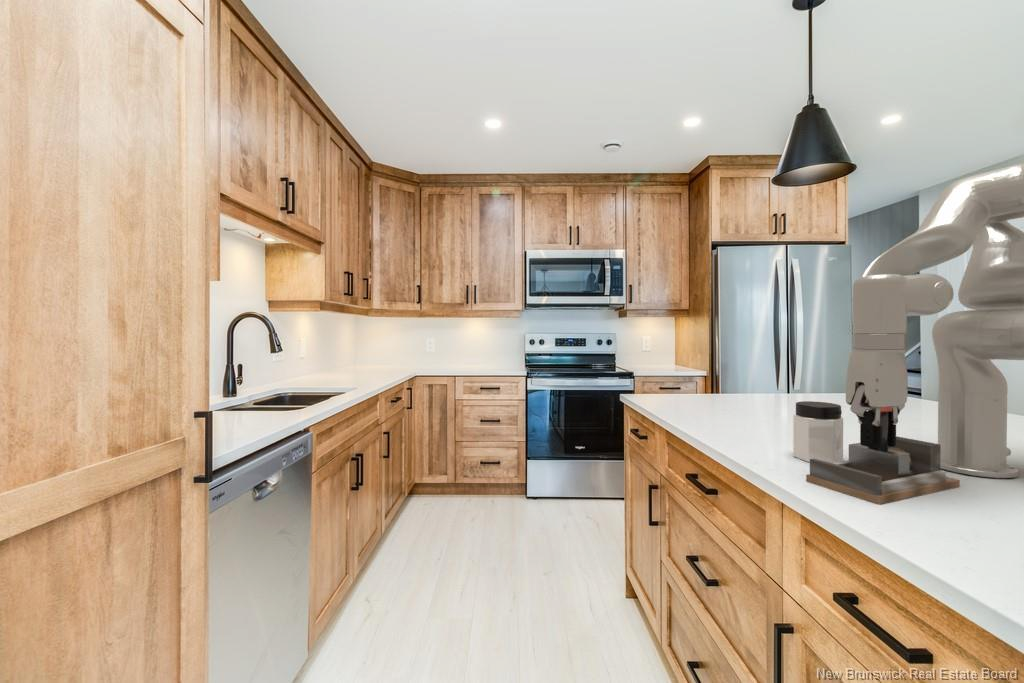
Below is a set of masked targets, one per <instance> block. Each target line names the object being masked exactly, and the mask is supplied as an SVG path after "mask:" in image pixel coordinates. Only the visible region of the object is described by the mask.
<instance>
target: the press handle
mask: <svg viewBox="0 0 1024 683" xmlns="http://www.w3.org/2000/svg"><path fill="white" fill-rule="evenodd" d="M866 406H867V407H870V405H869V403H866ZM867 411H869V410H867ZM869 412H870V413H871V414H873V411H869ZM888 412H892V406H891V407H886V408H881V410H880V423H879V426H882V448H880V449H877V448H872V447H867V446H863V445H861V444H860V442H857V443H849V444H848V460H849V468H852V469H856V470H860V471H863V472H867V473H871V474H875V475H878V476H882V480H884V481H888V480H893V479H898V478H903V477H909V465H910V454H909V453H905V452H900V451H895V450H891V449H888Z"/></svg>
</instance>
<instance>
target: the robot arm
mask: <svg viewBox="0 0 1024 683" xmlns="http://www.w3.org/2000/svg"><path fill="white" fill-rule="evenodd" d="M1022 218H1024V163H1017V164H1012V165H1009V166H1005V167H1002V168H998V169H993V170H990V171H986V172H982V173H978V174H974V175H970V176H968V177H963V178H961V179H959V180H956V181H953V182H952V183H950V184H949V185H948V186H946V187H945V188H944V189H943V190H942V191H941V193H940V195H939V197H938V198H937V199H936V201H935V203H934V204H933V206H932V207H931V209H930V210H929V212H928V213H927V215H926V217H925V218H924V219H923V220H922V222H921V224H920V226H919V227H918V229H917V230H916V231H915V232H914V233H913V234H911V235H909V236H907V237H906V238H904V239H902V240H901V241H900V242H898V243H896V244H895V245H893V246H892V247H891V248H889V249H888V250H887V249H886V250H885V251H884V252H883V253H881V254H880V255H878V256H877V257H876V258H875V259H874V260H873V261H871V263H870V264H869V265H867V267H866V268H865V269H864V271H863V273H862V274H861V276H859V277H858V278H856V279H855V280H854V281H853V284H852V295H851V296H852V297H851V298H852V299H851V300H852V322H851V324H852V327H851V328H852V344H851V345H852V346H851V347H852V348H851V350H852V351H851V352H850V356H849V359H848V364H847V370H846V381H845V402H846V404H847V405H849V406H850V408H849V410H850V412H852V413H853V414H854V415H856V416H857V418H858V421H857V422H858V423H859V424H860V425H859V426H860V427H859V428H860V429H859V431H860V432H859V433H860V435H859V436H860V438H859V441H860V442H859V443H860V444H861V445H863V446H867V447H872V448H877V449H880V448H882V426H879V423H880V410H881V408H886V407H891V406H892V412H888V446H891V447H893V446H896V436H897V425H898V423H899V415H900V412H901V411H902V410H903V409H904V408H905V405H906V403H907V402H908V391H909V390H908V389H909V386H908V385H909V384H908V382H909V380H908V367H907V358H906V354H905V353H907V343H908V342H907V341H908V340H907V339H908V338H907V337H908V334H907V333H908V317H921V316H930V315H935V314H939V313H941V312H942V311H944V310H946V309H947V308H948V307H949V306H950V304H952V301H953V300H954V299H953V298H954V293H955V292H954V288H953V286H952V284H951V283H950V281H949V280H948V279H946V278H945V277H943V276H942V275H938V274H936V273H919V272H921V271H924V270H926V269H930V268H932V267H936V266H938V265H941V264H943V263H946V262H948V261H951V260H953V259H956V258H958V257H960V256H961V255H963V254H965V253H967V252H968V251H969V250H970V249H971V248H972V249H971V250H972V251H971V254H970V256H969V260H968V262H967V266H966V268H965V270H964V273H963V276H962V279H961V281H960V285H959V287H958V288H959V289H958V293H957V296H958V301H959V303H960V304H961V305H962V306H963V307H965V308H967V309H969V310H959V311H953V312H950V313H946V314H944V315H942V316H940V317H938V319H937V320H936V321H935V322H934V323H933V326H932V331H931V336H932V342H933V346H934V350H935V351H934V352H935V354H936V360H937V370H938V371H937V372H938V382H937V383H938V384H937V385H938V388H937V389H938V390H937V391H938V394H937V395H938V396H937V397H938V398H937V407H938V408H937V444H941V465H940V470H941V469H942V470H945V471H949V472H952V473H957V474H962V475H968V476H974V477H975V476H976V477H982V478H993V479H994V478H995V479H1013V478H1017V477H1019V474H1020V472H1019V471H1020V470H1019V469H1018V468H1016V467H1015V466H1013V465H1010V464H1007V457H1008V456H1011V454H1012V451H1011V450H1012V449H1010V448H1009V447H1007V442H1008V441H1007V438H1008V392H1009V390H1008V382H1007V379H1006V377H1005V375H1004V373H1002V371H1001V370H1000V369H999V368H998V366H996V365H995V363H993V361H992V360H1000V361H1001V360H1003V361H1004V360H1007V361H1024V231H1023V230H1021V229H1019V228H1017V227H1015V226H1013V225H1012V224H1011V223H1010V222H1009V221H1010V220H1015V219H1022ZM917 273H919V274H917ZM866 403H869V405H870V407H867V406H866ZM868 410H869V411H873V414H871V413H870V412H869V411H868Z"/></svg>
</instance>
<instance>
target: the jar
mask: <svg viewBox="0 0 1024 683" xmlns="http://www.w3.org/2000/svg"><path fill="white" fill-rule="evenodd" d="M842 414H843V412H842V406H841V404H837V403H832V402H825V401H813V400H812V401H811V400H809V401H807V400H806V401H804V400H803V401H797V402H795V413H794V414H793V417H792V418H793V424H792V426H793V431H792V432H793V439H792V441H793V446H792V449H793V452H792V453H793V457H795V458H796V459H799V460H802V461H805V462H807V463H810V459H818V460H822V461H826V462H829V463H836V462H842V461H844V418H843V417H842Z"/></svg>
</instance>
